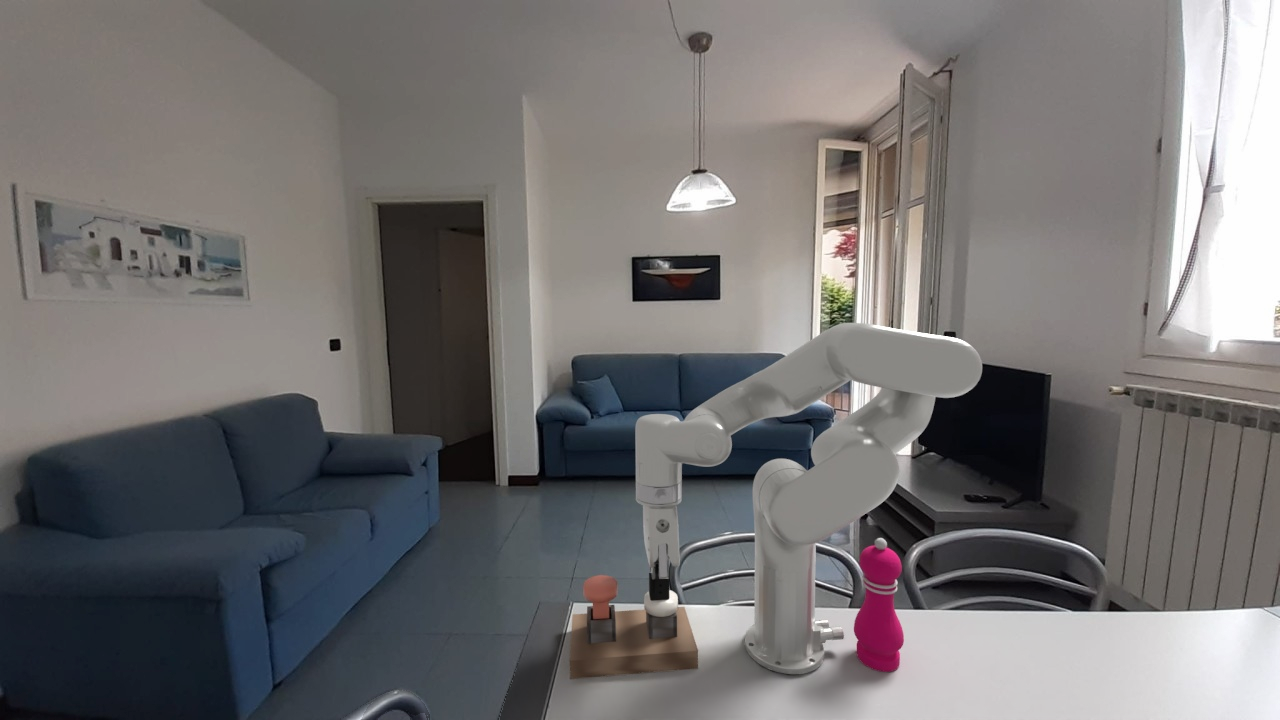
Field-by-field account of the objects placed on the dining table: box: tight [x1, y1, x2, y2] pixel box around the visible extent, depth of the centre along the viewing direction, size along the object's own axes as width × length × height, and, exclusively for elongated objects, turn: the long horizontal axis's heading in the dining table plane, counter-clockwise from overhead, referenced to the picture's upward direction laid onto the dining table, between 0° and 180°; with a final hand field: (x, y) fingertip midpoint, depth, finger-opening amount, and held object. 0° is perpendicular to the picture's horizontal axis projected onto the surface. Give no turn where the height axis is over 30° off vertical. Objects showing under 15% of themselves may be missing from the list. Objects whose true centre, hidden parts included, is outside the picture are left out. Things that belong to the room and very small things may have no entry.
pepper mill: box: [853, 537, 905, 673], centre depth 80 cm, size 7×7×20 cm
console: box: [568, 604, 699, 680], centre depth 84 cm, size 20×12×6 cm, turn 95°
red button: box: [582, 574, 619, 619], centre depth 83 cm, size 6×6×5 cm
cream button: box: [643, 589, 679, 617], centre depth 84 cm, size 6×6×5 cm
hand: (659, 597), depth 84 cm, fingers closed
